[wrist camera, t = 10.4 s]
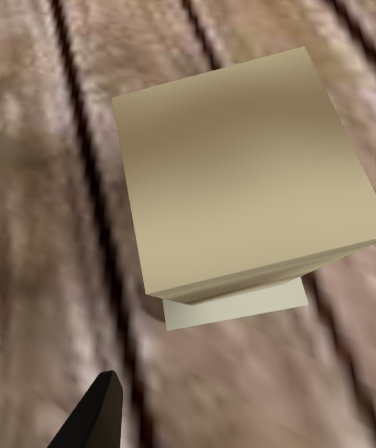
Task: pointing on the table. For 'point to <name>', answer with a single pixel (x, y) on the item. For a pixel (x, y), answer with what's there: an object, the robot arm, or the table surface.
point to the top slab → (235, 305)
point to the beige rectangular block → (240, 179)
